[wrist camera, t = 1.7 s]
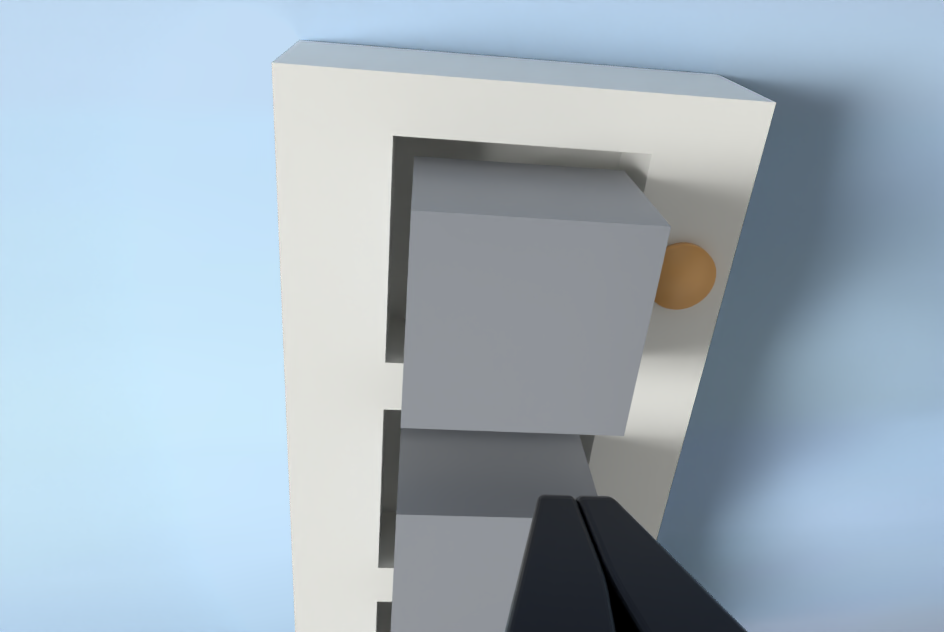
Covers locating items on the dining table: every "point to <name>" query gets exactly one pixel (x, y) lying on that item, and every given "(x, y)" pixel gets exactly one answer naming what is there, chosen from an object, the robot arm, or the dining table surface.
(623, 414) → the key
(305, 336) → the keypad
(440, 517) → the key middle
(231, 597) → the dining table surface
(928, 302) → the dining table surface
